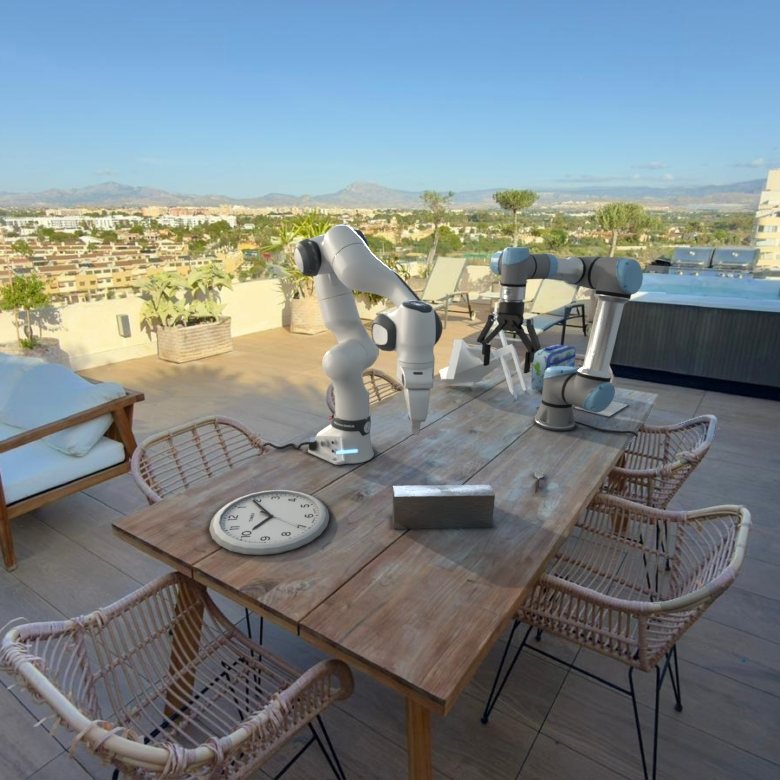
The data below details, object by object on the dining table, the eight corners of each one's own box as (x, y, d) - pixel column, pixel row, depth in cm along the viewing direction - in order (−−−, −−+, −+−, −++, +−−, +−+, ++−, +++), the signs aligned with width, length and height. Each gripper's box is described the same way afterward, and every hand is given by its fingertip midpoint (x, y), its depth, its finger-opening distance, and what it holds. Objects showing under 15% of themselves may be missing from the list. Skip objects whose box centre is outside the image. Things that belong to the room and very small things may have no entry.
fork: (530, 493, 151) (531, 487, 150) (535, 470, 165) (536, 465, 164) (539, 495, 150) (540, 489, 149) (544, 472, 164) (544, 466, 163)
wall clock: (327, 546, 121) (194, 551, 119) (327, 552, 122) (195, 557, 119) (330, 485, 150) (223, 488, 147) (330, 490, 150) (224, 493, 148)
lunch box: (547, 397, 237) (552, 352, 231) (526, 391, 245) (531, 348, 238) (574, 386, 255) (580, 344, 249) (554, 381, 262) (559, 340, 256)
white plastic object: (461, 429, 252) (437, 405, 227) (444, 352, 274) (420, 323, 250) (535, 404, 240) (518, 377, 215) (510, 326, 262) (492, 293, 237)
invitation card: (608, 416, 214) (573, 407, 224) (608, 416, 214) (573, 408, 224) (628, 404, 229) (594, 396, 238) (628, 405, 229) (594, 397, 238)
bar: (487, 515, 139) (489, 484, 136) (492, 527, 134) (495, 495, 131) (392, 517, 137) (392, 485, 135) (393, 529, 132) (394, 496, 129)
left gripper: (399, 360, 133) (398, 411, 137) (405, 383, 113) (403, 442, 117) (423, 360, 133) (422, 411, 137) (434, 383, 113) (431, 442, 118)
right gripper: (469, 297, 161) (464, 364, 167) (547, 305, 147) (539, 378, 153) (480, 295, 167) (476, 360, 173) (557, 303, 153) (549, 373, 159)
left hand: (413, 426), depth 127 cm, fingers open, 8 cm apart
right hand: (506, 368), depth 163 cm, fingers open, 13 cm apart
